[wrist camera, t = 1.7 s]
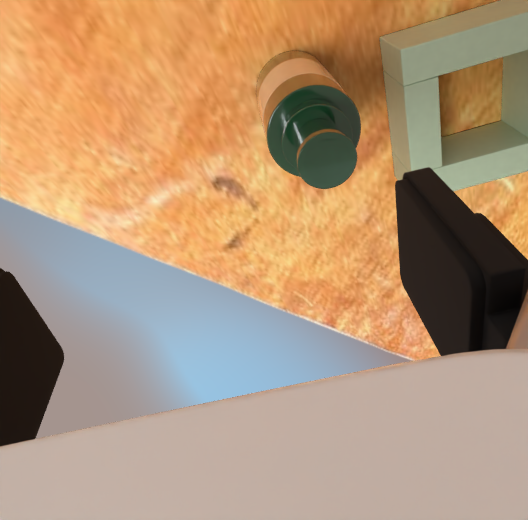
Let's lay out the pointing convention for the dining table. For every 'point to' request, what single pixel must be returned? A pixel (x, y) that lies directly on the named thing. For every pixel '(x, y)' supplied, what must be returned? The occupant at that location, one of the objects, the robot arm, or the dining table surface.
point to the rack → (427, 94)
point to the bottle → (308, 119)
